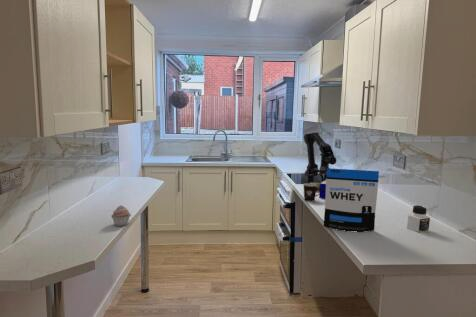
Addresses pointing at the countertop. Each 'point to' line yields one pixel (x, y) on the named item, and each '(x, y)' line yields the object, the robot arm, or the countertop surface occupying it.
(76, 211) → the countertop surface
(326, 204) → the protein powder
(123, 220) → the cupcake
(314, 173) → the robot arm
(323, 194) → the puzzle cube
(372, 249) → the countertop surface
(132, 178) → the countertop surface
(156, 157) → the countertop surface
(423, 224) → the medicine bottle
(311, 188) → the coffee mug
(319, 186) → the trap box
